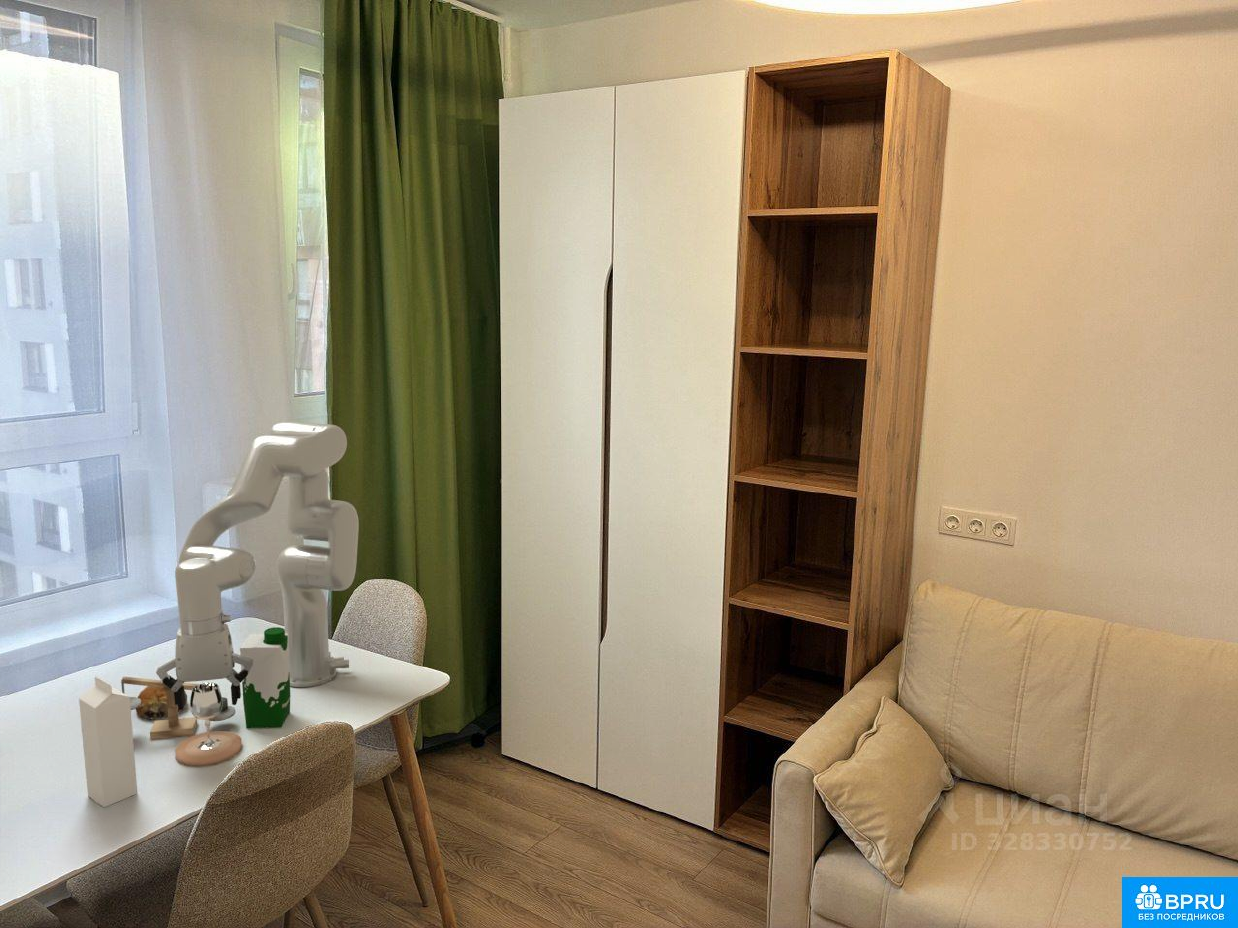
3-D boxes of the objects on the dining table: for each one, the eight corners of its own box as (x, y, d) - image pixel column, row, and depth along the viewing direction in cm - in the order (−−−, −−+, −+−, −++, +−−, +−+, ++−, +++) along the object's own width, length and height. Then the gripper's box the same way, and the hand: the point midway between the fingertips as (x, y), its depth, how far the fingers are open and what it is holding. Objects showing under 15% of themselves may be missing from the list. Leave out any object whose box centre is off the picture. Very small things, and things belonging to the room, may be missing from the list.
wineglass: (230, 738, 186) (227, 682, 184) (215, 752, 181) (211, 695, 178) (202, 736, 187) (199, 680, 185) (186, 750, 181) (183, 692, 179)
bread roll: (192, 722, 203) (202, 685, 205) (158, 722, 193) (168, 683, 195) (156, 714, 206) (166, 677, 208) (120, 714, 197) (131, 675, 198)
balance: (237, 718, 197) (234, 663, 195) (234, 732, 192) (230, 675, 189) (114, 730, 191) (109, 672, 189) (106, 744, 185) (101, 685, 183)
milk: (121, 782, 172) (112, 670, 168) (138, 793, 169) (129, 679, 164) (86, 796, 167) (77, 681, 163) (103, 808, 164) (93, 690, 160)
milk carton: (284, 729, 193) (280, 638, 189) (239, 730, 192) (234, 639, 188) (295, 710, 202) (291, 622, 198) (252, 711, 201) (247, 623, 197)
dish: (245, 733, 191) (244, 727, 191) (238, 762, 180) (237, 756, 180) (181, 739, 188) (181, 733, 188) (170, 769, 177) (169, 763, 177)
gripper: (251, 611, 185) (257, 691, 189) (156, 619, 180) (164, 700, 184) (247, 626, 178) (253, 708, 182) (147, 634, 173) (156, 718, 177)
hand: (208, 704), depth 183 cm, fingers open, 9 cm apart
